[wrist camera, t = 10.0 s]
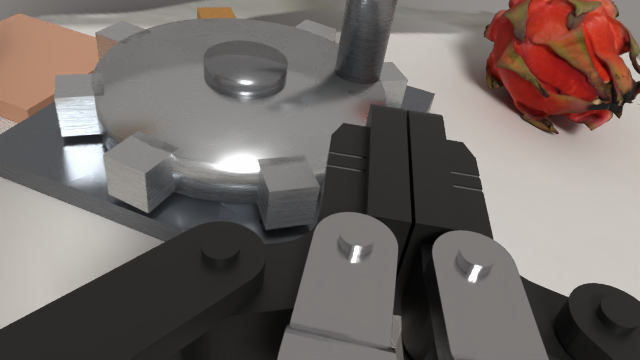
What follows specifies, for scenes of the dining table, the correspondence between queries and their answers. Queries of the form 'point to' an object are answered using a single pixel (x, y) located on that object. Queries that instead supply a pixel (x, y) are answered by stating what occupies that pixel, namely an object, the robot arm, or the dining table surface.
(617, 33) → the dragon fruit
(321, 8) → the dining table surface
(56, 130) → the sprocket base
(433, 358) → the robot arm
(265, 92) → the sprocket
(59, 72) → the salmon brown square slab
